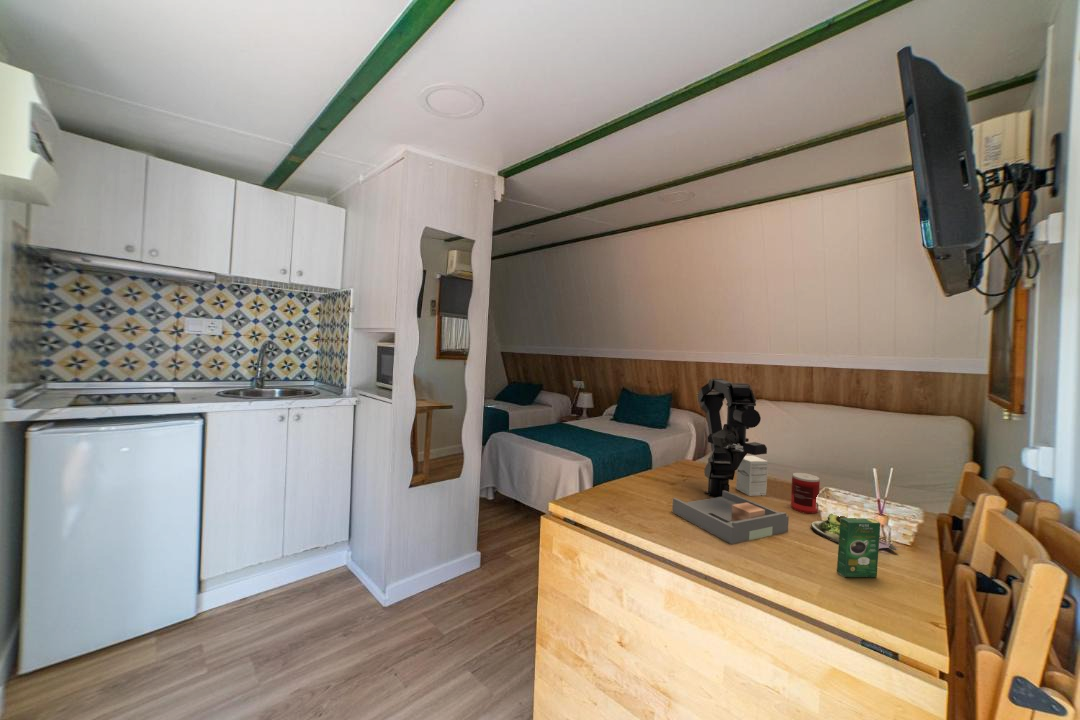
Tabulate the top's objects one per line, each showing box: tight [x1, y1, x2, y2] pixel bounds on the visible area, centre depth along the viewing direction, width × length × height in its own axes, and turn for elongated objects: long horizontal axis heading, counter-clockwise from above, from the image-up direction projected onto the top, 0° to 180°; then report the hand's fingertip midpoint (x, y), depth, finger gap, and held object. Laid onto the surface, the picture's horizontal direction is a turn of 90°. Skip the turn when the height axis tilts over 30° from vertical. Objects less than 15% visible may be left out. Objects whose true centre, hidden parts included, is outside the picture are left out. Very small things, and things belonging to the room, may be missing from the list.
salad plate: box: [810, 513, 899, 551], centre depth 119 cm, size 19×18×5 cm
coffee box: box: [836, 517, 881, 579], centre depth 99 cm, size 8×3×13 cm, turn 93°
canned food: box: [790, 472, 821, 514], centre depth 139 cm, size 8×8×11 cm
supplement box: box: [735, 455, 769, 497], centre depth 155 cm, size 7×7×13 cm
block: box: [731, 503, 765, 521], centre depth 121 cm, size 6×6×4 cm
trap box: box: [671, 490, 790, 545], centre depth 128 cm, size 23×22×6 cm
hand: (734, 469), depth 137 cm, fingers closed
